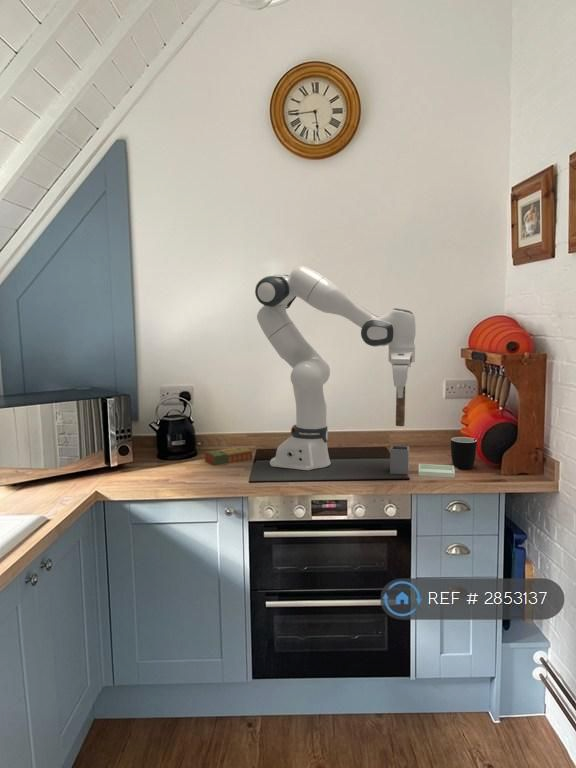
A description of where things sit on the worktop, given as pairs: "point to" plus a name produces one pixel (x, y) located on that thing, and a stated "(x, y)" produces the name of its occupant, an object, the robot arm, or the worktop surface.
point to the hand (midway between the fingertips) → (400, 396)
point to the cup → (399, 460)
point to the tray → (436, 470)
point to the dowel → (400, 409)
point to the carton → (228, 455)
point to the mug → (463, 452)
